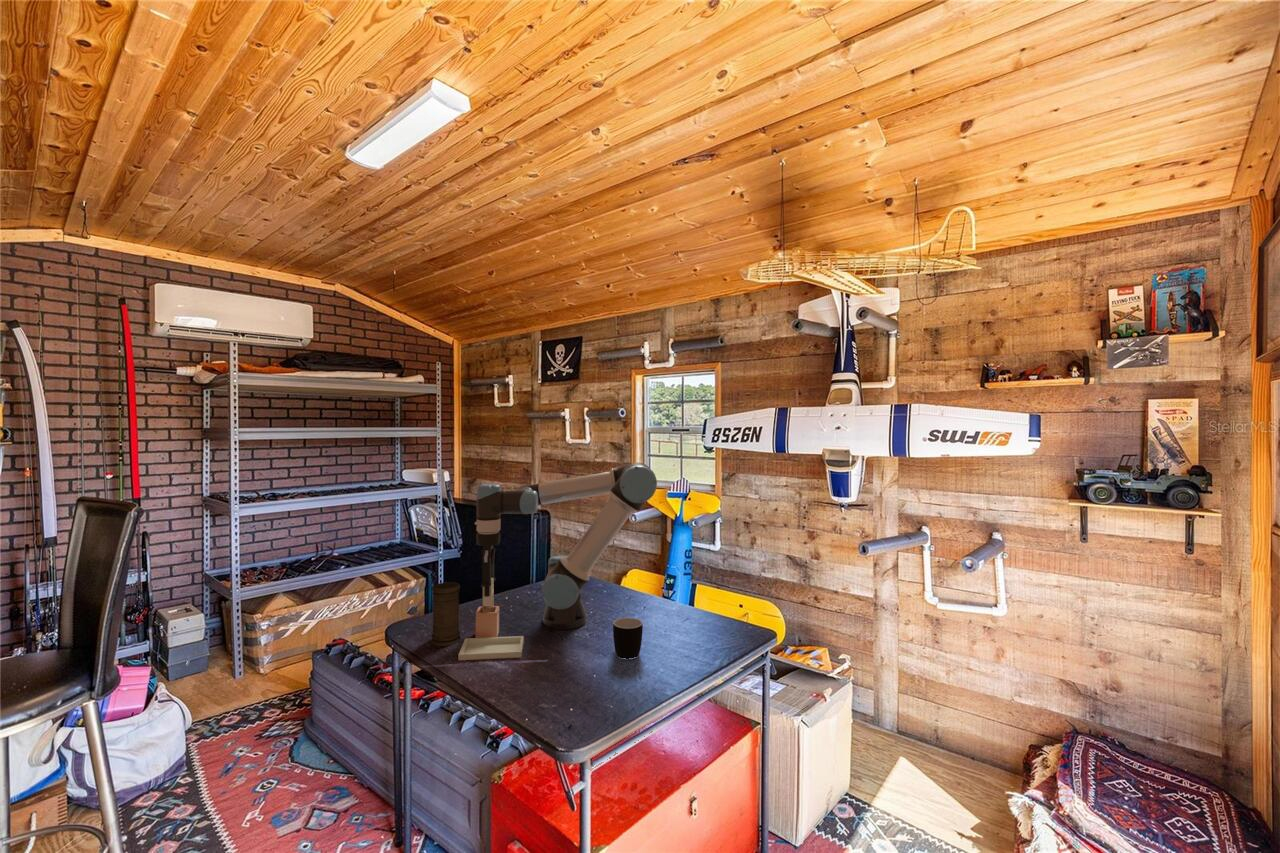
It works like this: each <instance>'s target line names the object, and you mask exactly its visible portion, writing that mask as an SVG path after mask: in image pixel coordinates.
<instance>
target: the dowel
mask: <svg viewBox="0 0 1280 853" xmlns="http://www.w3.org/2000/svg"><path fill="white" fill-rule="evenodd" d="M494 578H495V577H493V578H491V585H492V606H483V605H482V607H483V613H484V612H493V611H494V606H495V605H494V601H495V600H494V596H495V594H494V593H495V592H494V587H495V586H494V582H495V581H494Z"/></svg>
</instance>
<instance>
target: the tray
mask: <svg viewBox="0 0 1280 853" xmlns="http://www.w3.org/2000/svg"><path fill="white" fill-rule="evenodd" d="M524 640H525V637H524V635H519V636H517V635H515V636H497V637H490V638H476V637H474V638H473V637H471V638H470V637H469V638H464V641H463V644H462V645H461V647H460V650H459V652H458V658H457V659H458V661H472V660H473V661H474V660H475V661H476V660H492V659H513V658H516V659H517V658H522V653H523V649H524V643H525V642H524Z"/></svg>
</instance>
